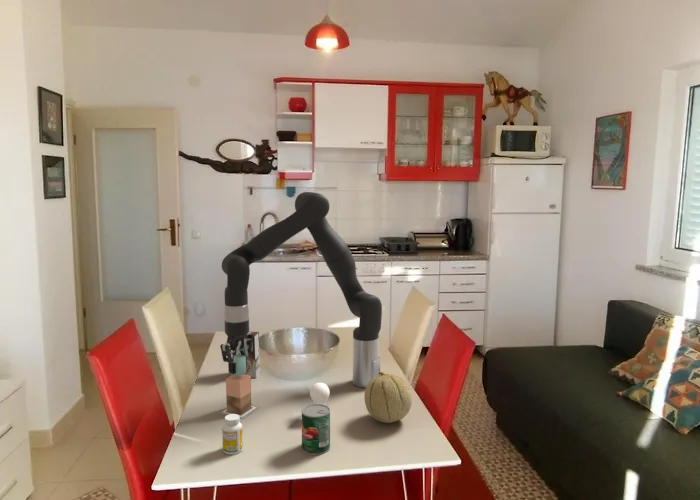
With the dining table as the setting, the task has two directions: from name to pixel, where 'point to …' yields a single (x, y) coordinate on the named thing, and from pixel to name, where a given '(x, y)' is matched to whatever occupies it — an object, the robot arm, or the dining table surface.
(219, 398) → the dining table surface
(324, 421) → the canned tomato
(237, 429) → the supplement bottle
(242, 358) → the mint green capsule
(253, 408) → the mat
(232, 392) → the terracotta block
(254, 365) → the coffee box
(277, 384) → the dining table surface
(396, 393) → the cantaloupe
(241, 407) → the walnut block
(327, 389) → the lightbulb
